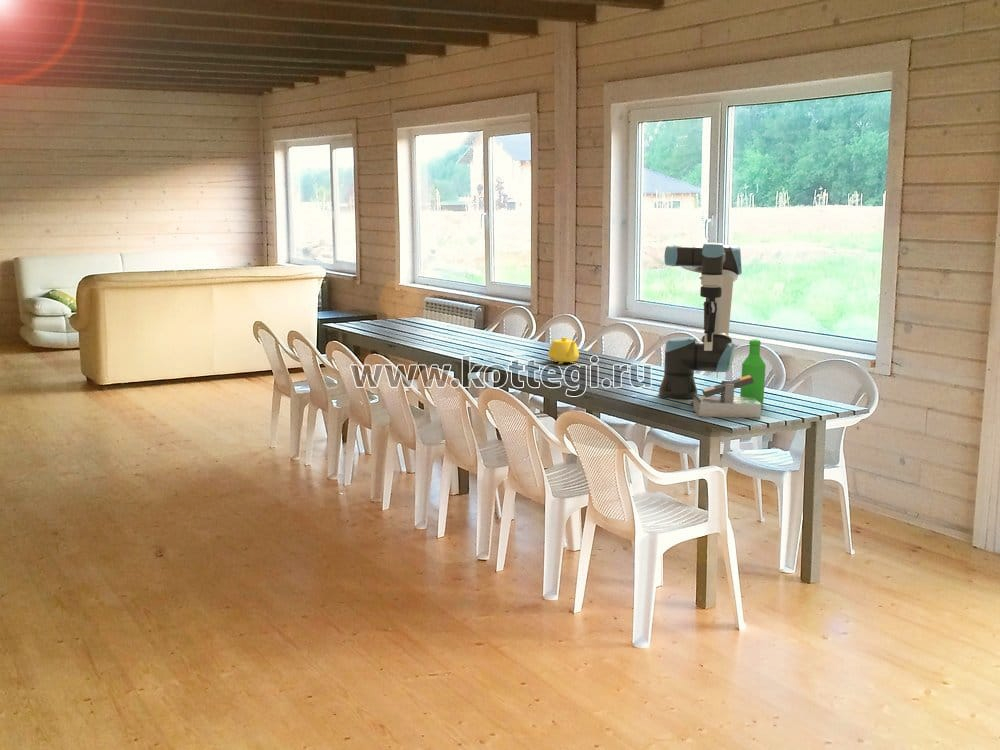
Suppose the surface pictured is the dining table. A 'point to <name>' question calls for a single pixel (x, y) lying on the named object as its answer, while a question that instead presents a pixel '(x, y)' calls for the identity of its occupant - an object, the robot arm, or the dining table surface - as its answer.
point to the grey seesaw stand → (726, 405)
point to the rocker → (721, 388)
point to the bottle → (754, 373)
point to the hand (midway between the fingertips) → (708, 350)
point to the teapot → (563, 350)
